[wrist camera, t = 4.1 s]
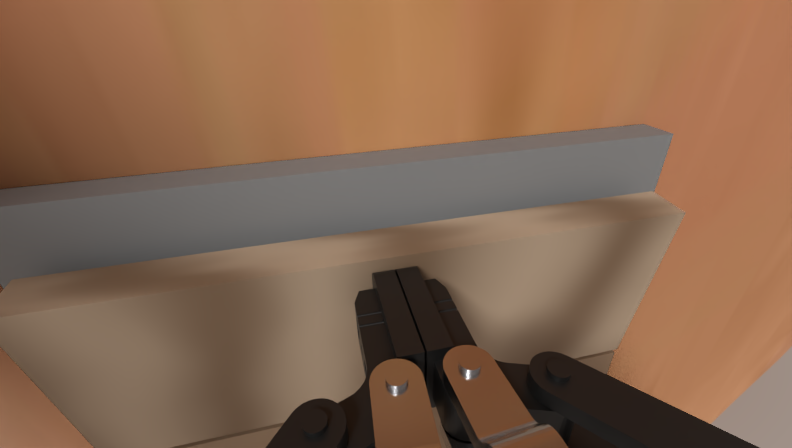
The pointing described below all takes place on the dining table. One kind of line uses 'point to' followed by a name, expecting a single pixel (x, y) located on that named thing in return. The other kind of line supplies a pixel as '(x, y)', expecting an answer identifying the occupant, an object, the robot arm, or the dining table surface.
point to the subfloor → (315, 205)
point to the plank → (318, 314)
